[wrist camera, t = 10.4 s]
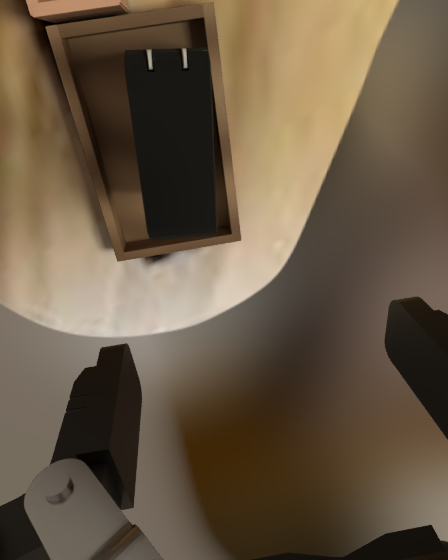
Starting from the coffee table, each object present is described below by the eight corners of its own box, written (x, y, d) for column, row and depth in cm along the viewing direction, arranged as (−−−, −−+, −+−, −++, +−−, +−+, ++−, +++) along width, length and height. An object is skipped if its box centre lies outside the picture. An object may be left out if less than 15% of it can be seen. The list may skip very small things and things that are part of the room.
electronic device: (154, 193, 32) (148, 245, 23) (136, 50, 27) (120, 49, 18) (205, 190, 32) (218, 240, 23) (197, 49, 27) (210, 47, 18)
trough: (56, 28, 26) (45, 26, 24) (209, 6, 26) (213, 2, 24) (120, 248, 34) (117, 261, 32) (236, 228, 35) (241, 240, 32)
